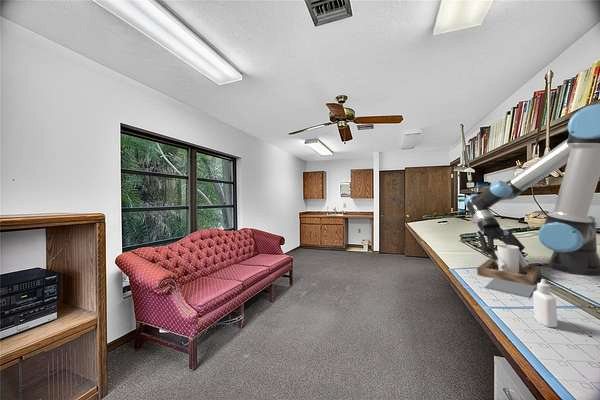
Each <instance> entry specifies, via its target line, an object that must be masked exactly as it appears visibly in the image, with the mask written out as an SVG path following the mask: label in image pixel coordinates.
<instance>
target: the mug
mask: <svg viewBox="0 0 600 400" xmlns="http://www.w3.org/2000/svg"><path fill="white" fill-rule="evenodd" d="M496 251H497V252H498V253H499V255H500V257H501V258H502V260H503V262H504V263H505V266H504V267H503V268H500V267H499V265H498V267H499V268H498V270H500V271H506V272H512V273H517V274H520V272H519V263H520V262H519V247H517V246H513V245H506V244H497V250H496Z"/></svg>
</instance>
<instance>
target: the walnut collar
mask: <svg viewBox="0 0 600 400" xmlns="http://www.w3.org/2000/svg"><path fill="white" fill-rule="evenodd" d="M494 268H496V269H494ZM541 268H542V267H541V266H539V265H533V264H528V265H527V266H526V267H522V265H521V264H520V262H519V274H517V273H512V272H506V271H500V270H499V267H498V263H497V262H496V260H494V259H493V258H492V259H491V258H489V259H487V260H486V261H485V262H484V263H482V264H481V265H479V266H478V267H476V271H477V276H482V277H487V278H490V279H491V278H492V279H494V278H497V279H502V280H507V281H512V282H517V283H522V284H528V285H533V286H535V285H534V284H535V283H536V282H537V280H538V278H539V277H540V276H541V274H542V273H541V271H542V269H541ZM520 272H521V273H522V274H521V273H520ZM523 273H525V274H523Z"/></svg>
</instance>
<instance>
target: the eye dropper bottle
mask: <svg viewBox="0 0 600 400" xmlns="http://www.w3.org/2000/svg"><path fill="white" fill-rule="evenodd" d="M536 288H537V290H534V291H533V293H532V294H533V295H532V299H533V300H532V301H533V316H534V317H533V318H534V319H535V320H536V321H537V323H539V324H540V325H543V326H544V327H547V328H558V315H557V314H558V311H557V301H556V298H555V297H554V295H552V293H551V285H550V284H548V283H547V282H546V279H544V278H541V280H540V282H537V284H536Z"/></svg>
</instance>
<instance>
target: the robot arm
mask: <svg viewBox="0 0 600 400" xmlns="http://www.w3.org/2000/svg"><path fill="white" fill-rule="evenodd" d="M567 131H568V138H567V139H566V140H564V141H562V142H561V143H559V144H558V145H557V146H555V147H554V148H553V149H552V150H550V151H548V152H547V153H546V154H544V155H543V156H542V157H540V158H538V159H537V160H535V161H534V162H532V164H530V165H528V166H527V167H525V168H524V169H523V170H521V171H519V173H517V174H516V175H514V176H513V177H511V178H510V179H509V180H508V181H506V182H505V181H503V180H497V181H496V182H494V183H492V184H491V185H490V186H488V187H487V188H486V189H483V191H481V193H479V194H478V193H473V194H470V195H468V196H466V197H465V198H464V204H465V206H466V209H467V210H468V211H469V213H470V215H471V216H472V218H473V220H474V221H475V223H476V224H477V227H478V228H479V230H478V231H477V232H476V234H475V237H476V238H478V240H479V241H478V242H479V243H480V246H481V249H482V251H483V253H487V254H488V255H490V256H491V258H492V260H496V262H497V263H498V265H499V267H500V268H503V267H504V266H505V263H504V262H503V260H502V258H501V257H500V255H499V253H498V250H495V245H494V243H495V241H494V240H499V241H500V242H502V243H503V244H504V245H513V246H517V247H519V263H520V264H521V265H522V267H526V266H527V265H529V262H528V261H527V259H526V256H525V254H524V253H523V250H525V246H524V245H523V243H522V242H521V241H520V240H519V239H518V238H517V237H516V236H515V235H514V233H513V232H512V230H511V229H508V230H506V229H504V228H501V225H500V223H499V221H498V220H497V219H496V218H495V215H494V214H493V213H492V211H491V210H490V208H492V207H493V206H494V205H496V204H497V203H499V202H500V201H506V200H513V199H515V198H517V197H519V196H520V195H521V193H522V192H524V191H526V190H527V189H528V188H530V187H533V185H535V184H536V183H538V182H540V181H542V180H543V179H544V178H545V177H547V176H549V175H550V174H552V173H554V172H556V171H557V170H558V169H560V168H562V167H563V166H565V165H566V166H565V170H564V174H563V177H562V181H561V185H560V187H559V191H558V195H557V199H556V201H555V204H554V209H553V210H552V211H550V212H548V213H546V217H545V221H544V223H543V225H542V226H541V227H540V228H539V230H538V232H537V236H538V237H537V238H538V240H539V242H540V243H541V244H542V245H543V246H544V247H545V248H547V249H549V250H552V251H553V252H552V254H551V257H550V259H549V261H548V263H549V267H550V268H551V269H553V270H556V271H559V272H560V271H561V272H563V273H568V274H569V273H570V274H575V275H585V276H600V256H599V254H598V250H597V249H598V247H597V246H598V245H597V243H598V242H597V222H596V217H594V216H592V215H588V214H589V211H590V209H591V205H592V202H593V198H594V196H595V192H596V189H597V186H598V183H599V179H600V103H597V104H592V105H588V106H585V107H583V108H581V109H580V110H578V111H577V112H575V113H574V114H573V115H572V116H571V117H570V119H569V121H568V123H567Z"/></svg>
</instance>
